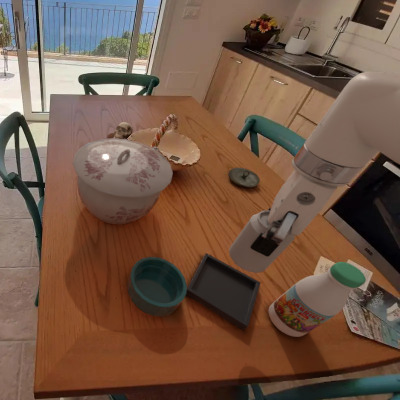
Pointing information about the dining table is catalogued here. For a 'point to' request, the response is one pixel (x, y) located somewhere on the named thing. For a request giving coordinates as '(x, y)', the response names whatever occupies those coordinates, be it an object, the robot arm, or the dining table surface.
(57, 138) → the dining table surface
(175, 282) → the bowl
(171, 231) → the dining table surface
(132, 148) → the chamber pot
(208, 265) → the tray
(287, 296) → the milk bottle
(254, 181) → the lid
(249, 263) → the can
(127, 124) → the skull
